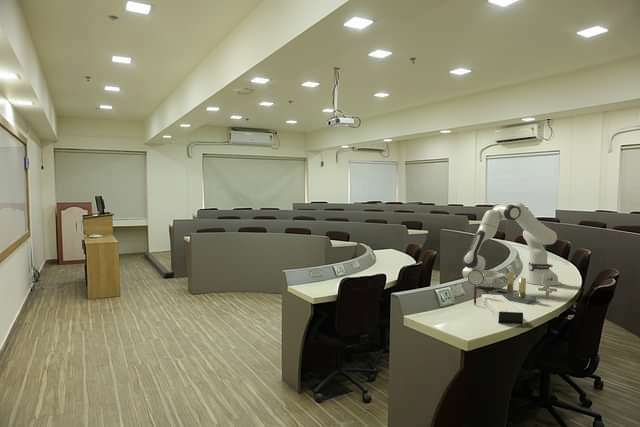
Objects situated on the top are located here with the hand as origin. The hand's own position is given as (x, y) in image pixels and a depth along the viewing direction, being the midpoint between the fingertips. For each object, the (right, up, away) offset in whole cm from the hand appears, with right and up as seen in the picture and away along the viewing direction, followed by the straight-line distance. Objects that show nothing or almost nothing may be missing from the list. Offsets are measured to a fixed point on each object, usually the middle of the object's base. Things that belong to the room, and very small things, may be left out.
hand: (507, 280), depth 260 cm
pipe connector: (+19, -9, -12) cm, 24 cm away
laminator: (-24, -11, -44) cm, 51 cm away
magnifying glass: (-32, -9, -29) cm, 44 cm away
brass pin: (+1, -8, -1) cm, 8 cm away
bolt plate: (-4, -8, -13) cm, 16 cm away
